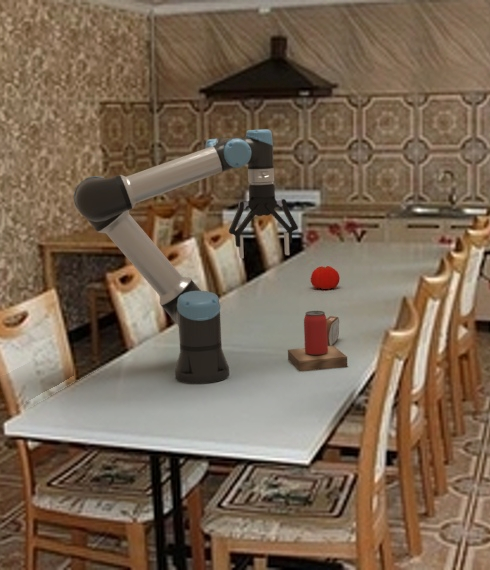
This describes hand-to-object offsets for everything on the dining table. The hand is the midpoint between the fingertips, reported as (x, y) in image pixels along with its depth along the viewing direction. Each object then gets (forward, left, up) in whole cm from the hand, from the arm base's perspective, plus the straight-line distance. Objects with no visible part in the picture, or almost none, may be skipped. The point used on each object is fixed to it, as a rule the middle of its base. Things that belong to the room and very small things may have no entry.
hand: (264, 256), depth 280 cm
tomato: (+46, +104, -31) cm, 118 cm away
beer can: (+12, -11, -28) cm, 32 cm away
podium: (+12, -11, -31) cm, 35 cm away
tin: (+22, +10, -31) cm, 39 cm away
